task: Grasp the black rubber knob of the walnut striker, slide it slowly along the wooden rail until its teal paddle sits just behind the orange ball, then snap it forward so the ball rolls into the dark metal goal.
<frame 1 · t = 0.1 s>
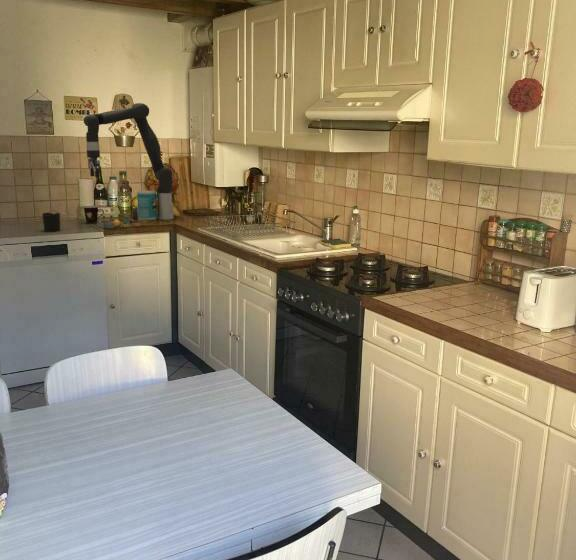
hand: (94, 176, 376), 29 cm above the table, fingers open, 8 cm apart
goal: (105, 227, 374), on the table
coffee mug: (93, 223, 389), on the table
striker: (132, 216, 383), point 5 cm above the table, slide at 0.0 cm
rail: (130, 225, 383), on the table
food can: (147, 219, 407), on the table
ball: (116, 223, 378), point 2 cm above the table
pen holder: (52, 230, 361), on the table
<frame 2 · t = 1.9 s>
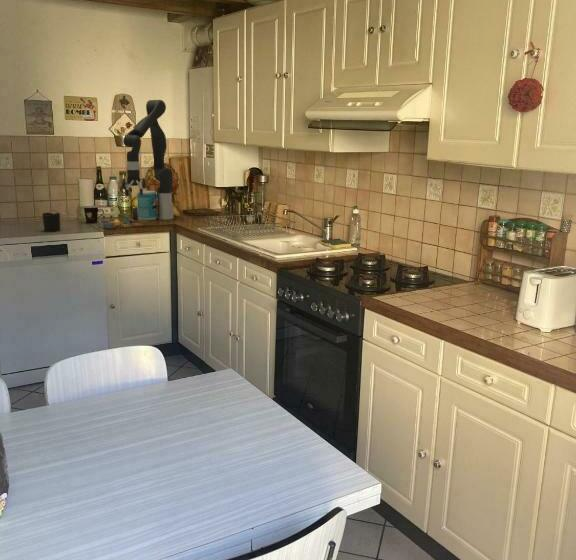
hand: (134, 195, 380), 18 cm above the table, fingers open, 8 cm apart
nothing on the table moved.
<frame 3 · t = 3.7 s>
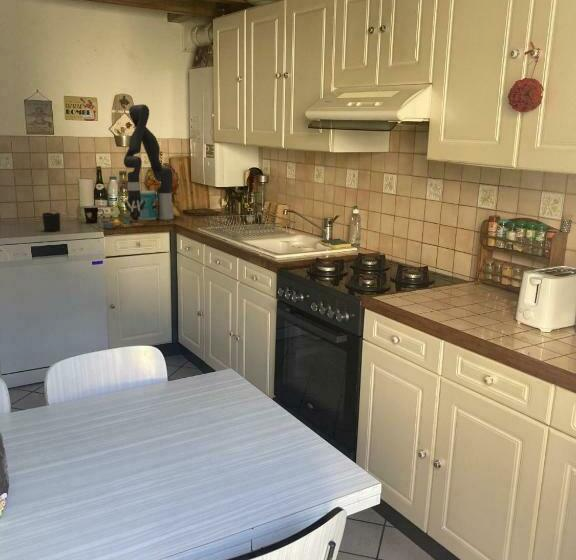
hand: (135, 217, 384), 5 cm above the table, fingers closed on striker, 3 cm apart
striker: (132, 216, 383), point 5 cm above the table, slide at 0.0 cm, touching gripper
everything else where it was.
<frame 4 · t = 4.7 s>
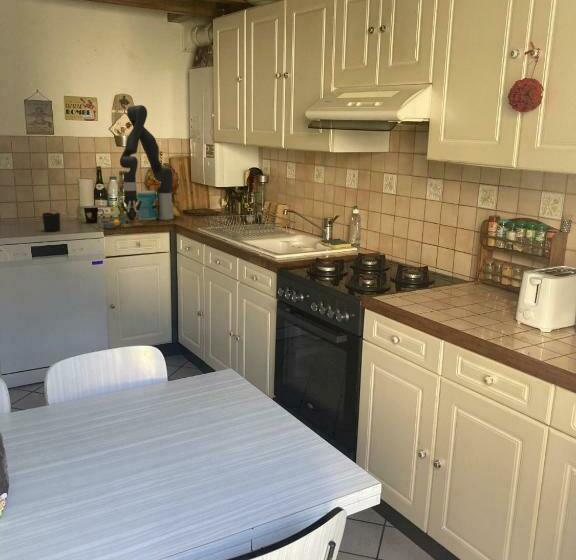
hand: (131, 217, 382), 5 cm above the table, fingers closed on striker, 3 cm apart
striker: (129, 216, 381), point 5 cm above the table, slide at 2.4 cm, touching gripper
everything else where it was.
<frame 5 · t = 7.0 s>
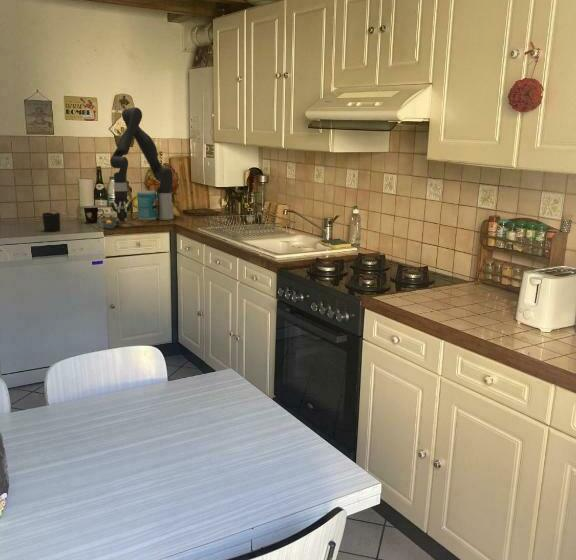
hand: (122, 218, 379), 5 cm above the table, fingers closed on striker, 3 cm apart
striker: (119, 217, 378), point 5 cm above the table, slide at 8.4 cm, touching gripper
ball: (109, 223, 375), point 2 cm above the table, tilted 119°
everything else where it was.
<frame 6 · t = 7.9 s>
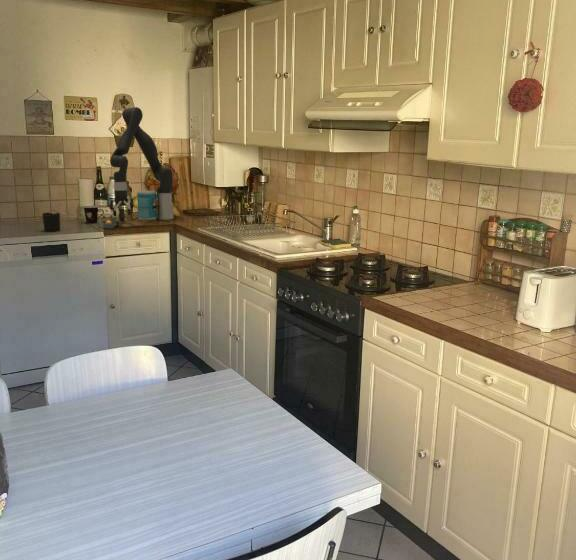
hand: (122, 215, 378), 6 cm above the table, fingers open, 8 cm apart
striker: (119, 217, 378), point 5 cm above the table, slide at 8.4 cm
ball: (108, 223, 375), point 2 cm above the table, tilted 125°
everything else where it was.
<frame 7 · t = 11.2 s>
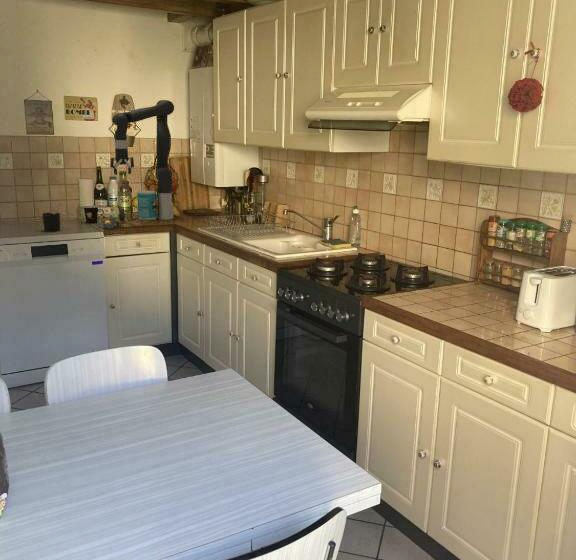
hand: (122, 174, 383), 30 cm above the table, fingers open, 8 cm apart
ball: (107, 223, 374), point 2 cm above the table, tilted 145°
everything else where it was.
at the end: ball inside the target area (1.0 cm from its centre), point 2.0 cm above the table; striker slide at 8.4 cm; the gripper is holding nothing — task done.
